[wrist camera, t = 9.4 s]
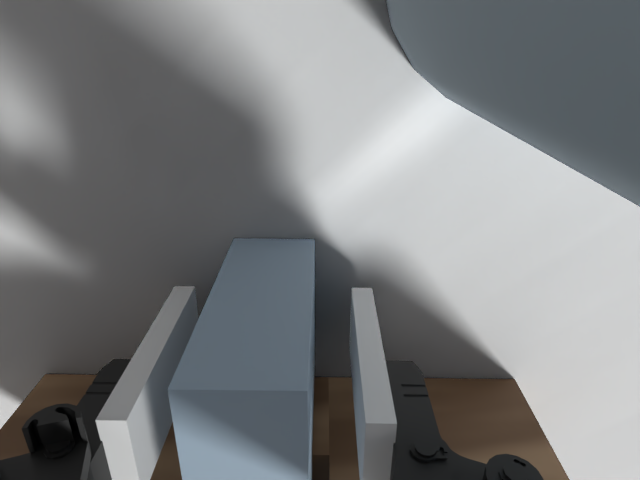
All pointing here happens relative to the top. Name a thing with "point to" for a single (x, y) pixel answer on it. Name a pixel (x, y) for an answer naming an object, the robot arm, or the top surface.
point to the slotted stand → (353, 424)
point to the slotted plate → (250, 368)
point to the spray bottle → (539, 74)
